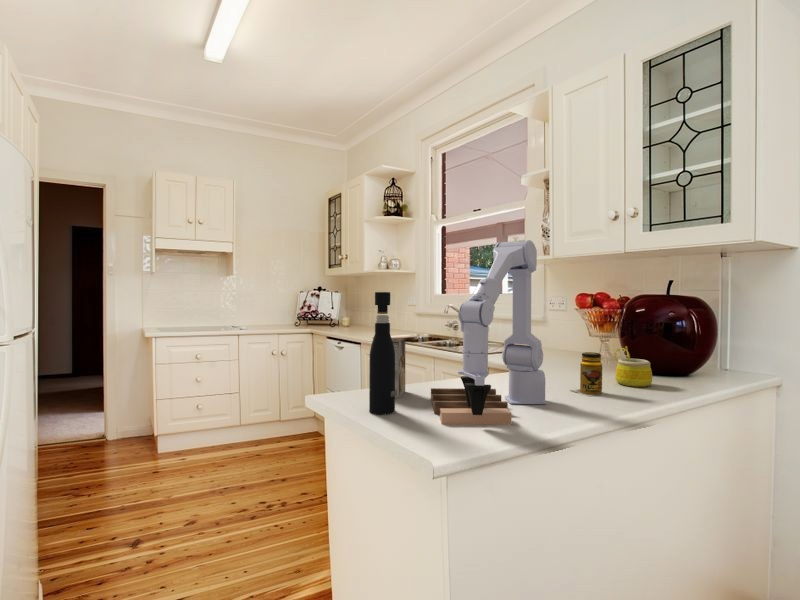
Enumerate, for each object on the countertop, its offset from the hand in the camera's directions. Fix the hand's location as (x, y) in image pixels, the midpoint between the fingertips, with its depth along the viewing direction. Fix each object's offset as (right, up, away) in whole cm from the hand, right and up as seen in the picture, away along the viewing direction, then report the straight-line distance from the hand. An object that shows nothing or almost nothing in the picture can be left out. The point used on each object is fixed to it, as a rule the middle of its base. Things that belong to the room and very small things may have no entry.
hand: (474, 410), depth 112 cm
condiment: (+39, -2, +32) cm, 51 cm away
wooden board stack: (0, -2, +15) cm, 15 cm away
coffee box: (-20, -2, +29) cm, 35 cm away
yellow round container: (+58, -2, +45) cm, 74 cm away
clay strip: (0, -3, 0) cm, 3 cm away
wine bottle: (-22, -3, +9) cm, 24 cm away
